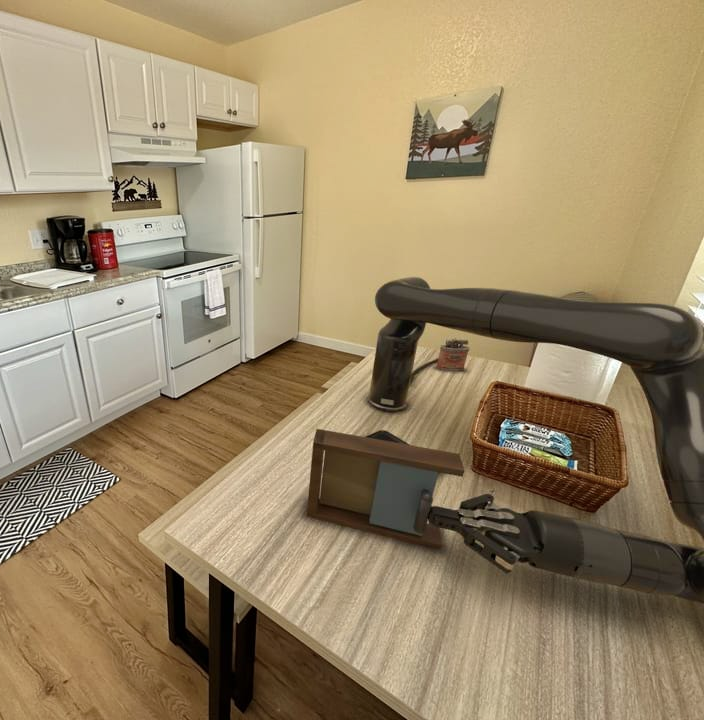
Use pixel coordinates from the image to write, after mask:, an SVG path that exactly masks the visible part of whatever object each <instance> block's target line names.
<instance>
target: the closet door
mask: <svg viewBox="0 0 704 720" xmlns="http://www.w3.org/2000/svg"><path fill="white" fill-rule="evenodd" d="M439 473H440V472H435V471H429V470H424V469H419V468H414V467H409V466H403V465H398V464H393V463H388V462H383V461H380V464H379V469H378V475H377V480H376V486H375V491H374V497H373V503H372V508H371V514H370V521H369V523H370V524H375V525H379V526H383V527H387V528H391V529H395V530H399V531H403V532H407V533H411V534H416V535H420V536H422V535H423V533H424V531H425V528H426V524H427V523H428V517H429V513H430V509H431V506H433V501H434V498H433V497H434V492H435V490H436V489H435V488H436V484H437V480H438V476H439Z"/></svg>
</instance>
